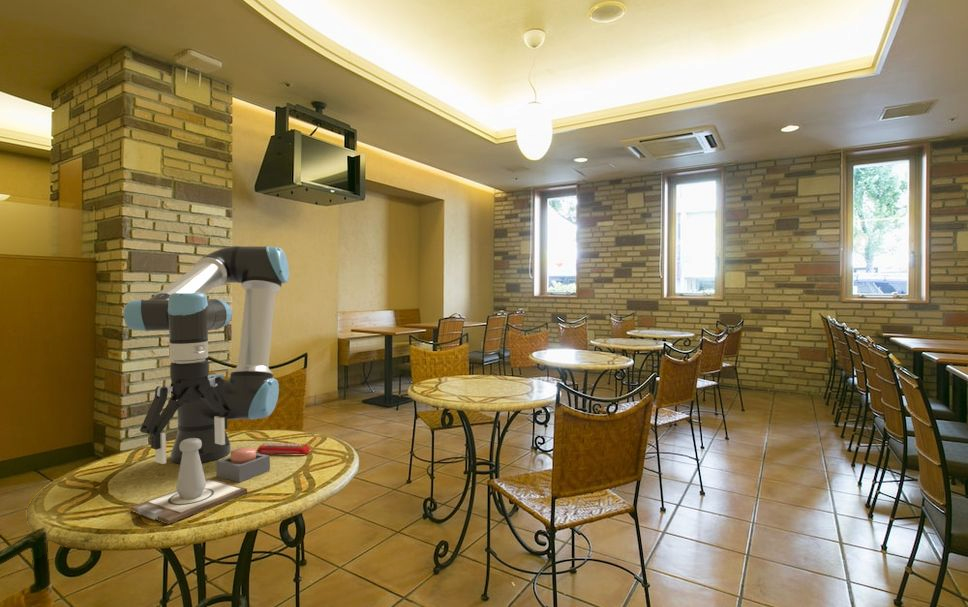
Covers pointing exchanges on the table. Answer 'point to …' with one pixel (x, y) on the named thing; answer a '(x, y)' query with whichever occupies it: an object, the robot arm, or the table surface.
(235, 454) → the button
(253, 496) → the table surface
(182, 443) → the salt shaker
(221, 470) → the button housing
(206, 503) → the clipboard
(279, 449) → the candy bar
